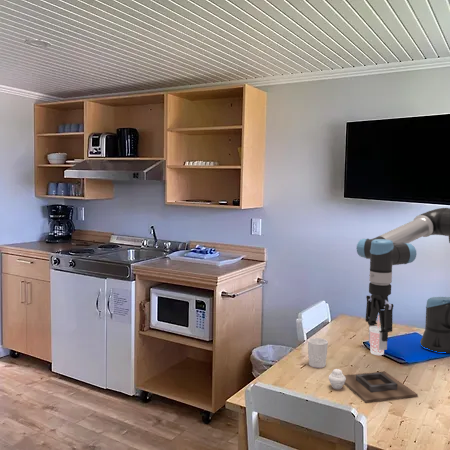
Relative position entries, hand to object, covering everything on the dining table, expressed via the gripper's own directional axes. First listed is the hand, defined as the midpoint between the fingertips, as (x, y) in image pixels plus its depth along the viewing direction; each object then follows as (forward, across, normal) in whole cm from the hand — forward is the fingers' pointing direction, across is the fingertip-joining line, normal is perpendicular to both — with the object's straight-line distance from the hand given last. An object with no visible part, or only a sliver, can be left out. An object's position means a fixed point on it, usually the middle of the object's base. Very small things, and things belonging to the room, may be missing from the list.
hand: (377, 345), depth 167 cm
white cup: (+16, -24, -12) cm, 31 cm away
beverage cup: (+3, 0, 0) cm, 3 cm away
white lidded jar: (+16, -3, -14) cm, 21 cm away
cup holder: (+15, 0, 0) cm, 15 cm away
